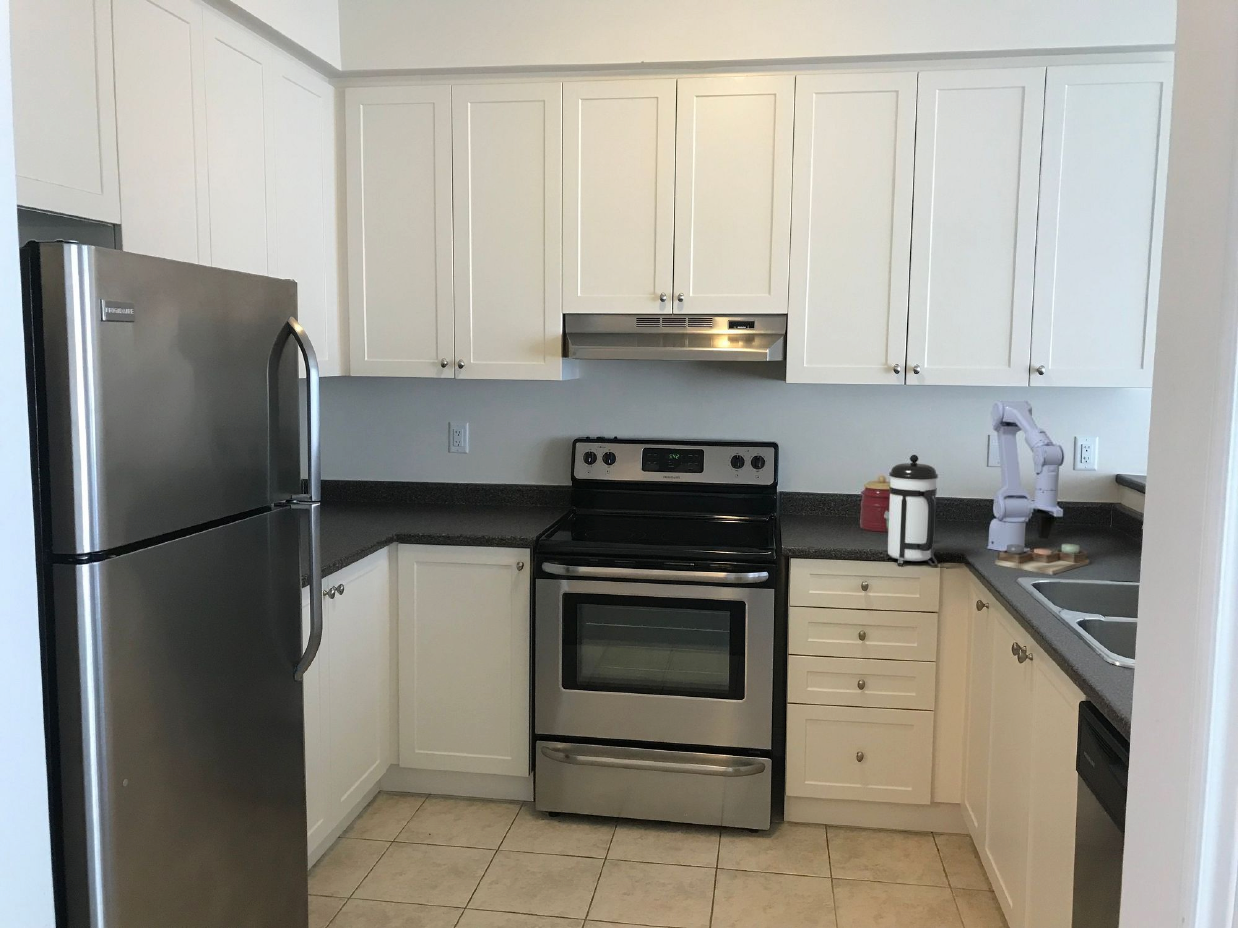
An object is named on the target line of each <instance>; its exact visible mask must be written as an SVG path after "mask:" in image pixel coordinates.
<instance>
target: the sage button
mask: <svg viewBox="0 0 1238 928" xmlns="http://www.w3.org/2000/svg"><path fill="white" fill-rule="evenodd" d="M1060 549H1061V552H1063V553H1069V554H1079V551H1080V545H1079V544H1074V543H1062V544H1061V548H1060Z"/></svg>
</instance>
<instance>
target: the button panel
mask: <svg viewBox="0 0 1238 928" xmlns="http://www.w3.org/2000/svg"><path fill="white" fill-rule="evenodd" d="M1061 549H1062V548H1060V549H1056V550H1054V551H1053V550H1051V551H1052V552H1051V554H1049V555H1045V554H1039V553H1034V549H1030V550H1029V551H1025V552H1024V554H1022V555H1015V554H1010V553H1007V550H1004V551H997V559H995V561H994V565H997V566H1002V567H1008V568H1014V569H1018V570H1024V571H1030V572H1035V573H1041V574H1044V575H1045V574H1046V575H1051V576H1053V575H1056V574H1059V573H1063V572H1066V571H1070V570H1073V569H1077V568H1080V567H1083V566H1086V565H1087V566H1088V565H1090V559H1088V552H1087V551H1083V550H1082V551H1081V550H1079V554H1069V553H1063V552H1061Z"/></svg>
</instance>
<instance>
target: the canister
mask: <svg viewBox="0 0 1238 928" xmlns="http://www.w3.org/2000/svg"><path fill="white" fill-rule="evenodd" d="M890 482H891V481H890V480H889V481H888V480H887V479H886V476H884V475H879V476H877V480H870V481H868V482H867V483H865V484H864V485H863V487H864V490H862V491H861V492H860V494H861V495H862V497H861V501H860V519H859V524H860V525H859V526H860V528H861V529H862V530H865V531H873V532H882V533H883V532H887V522H886V518H884V514H885V512H886V511H888V512H889V505H890V493H889V486H890Z"/></svg>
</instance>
